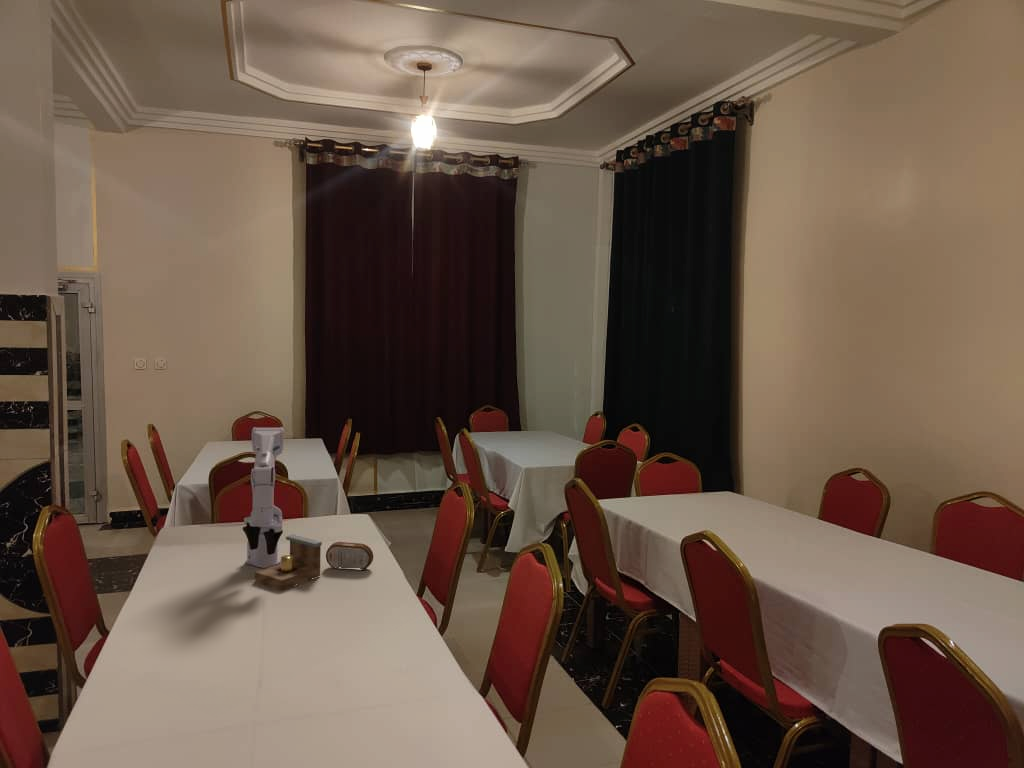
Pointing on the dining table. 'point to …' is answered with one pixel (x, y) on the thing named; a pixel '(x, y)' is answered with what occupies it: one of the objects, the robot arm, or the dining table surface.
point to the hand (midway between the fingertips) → (262, 551)
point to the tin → (349, 555)
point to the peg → (287, 564)
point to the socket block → (294, 565)
